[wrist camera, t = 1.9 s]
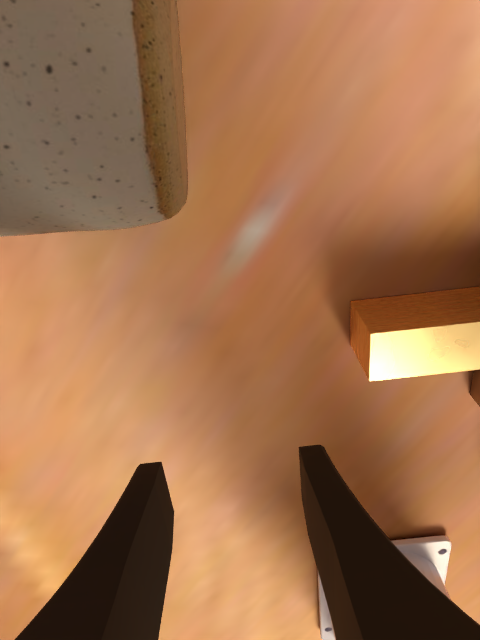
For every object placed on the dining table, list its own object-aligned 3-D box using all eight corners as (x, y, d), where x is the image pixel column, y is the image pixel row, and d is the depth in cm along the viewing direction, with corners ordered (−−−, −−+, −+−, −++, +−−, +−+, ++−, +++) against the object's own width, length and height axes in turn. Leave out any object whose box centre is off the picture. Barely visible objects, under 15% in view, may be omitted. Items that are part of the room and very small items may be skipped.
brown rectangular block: (502, 326, 21) (543, 362, 18) (350, 343, 21) (369, 381, 18) (510, 282, 20) (555, 313, 17) (350, 301, 20) (370, 333, 17)
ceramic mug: (199, 200, 17) (185, 264, 11) (-13, 208, 17) (-168, 279, 10) (172, -176, 13) (115, -502, 6) (-117, -169, 13) (-525, -496, 6)
